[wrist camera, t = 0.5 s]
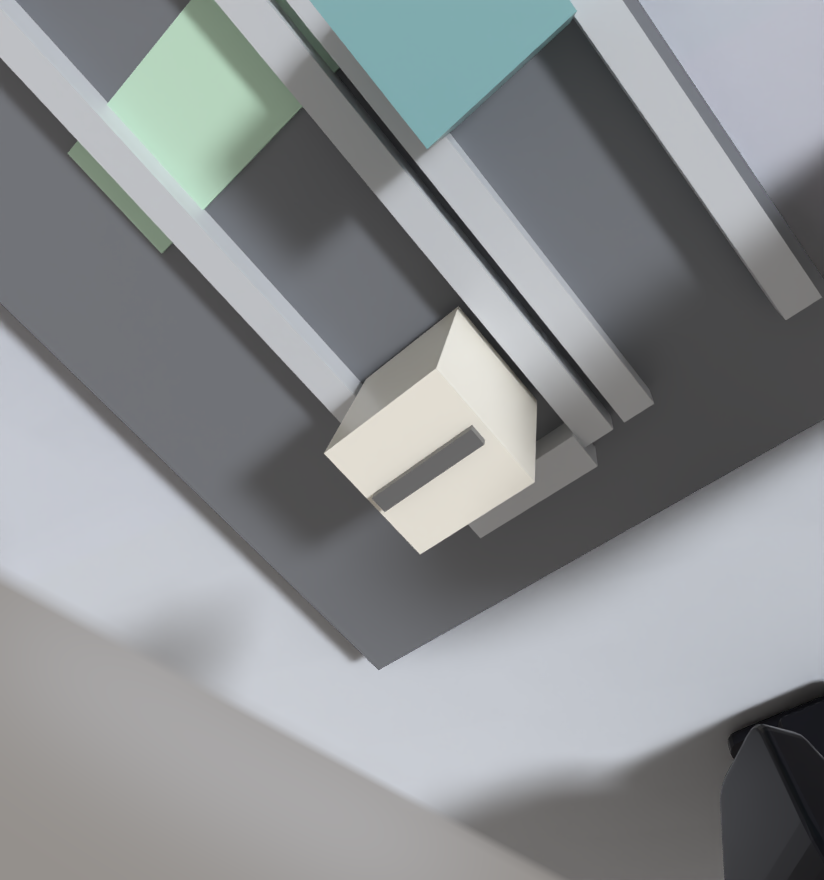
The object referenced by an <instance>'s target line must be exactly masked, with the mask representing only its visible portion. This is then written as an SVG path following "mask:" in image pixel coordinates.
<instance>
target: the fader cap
mask: <svg viewBox="0 0 824 880" xmlns="http://www.w3.org/2000/svg"><path fill="white" fill-rule="evenodd" d="M536 420H537V400H536V398H535V397H534V396H533V395H532V394H531V392H530V391H529V390H528V389H527V388H526V386H525V385H524V384H523V383H522V382H521V380H520V379H519V378H518V377H517V376H516V374H515V373H514V372H513V371H512V370H511V368H510V367H509V366H508V365H507V364H506V362H505V361H504V360H503V359H502V358H501V356H500V355H499V354H498V353H497V352H496V350H495V349H494V348H493V347H492V346H491V344H490V343H489V342H488V341H487V340H486V338H485V337H484V336H483V335H482V334H481V332H480V331H479V330H478V329H477V328H476V326H475V325H474V324H473V323H472V322H471V320H470V319H469V318H468V317H467V316H466V314H465V313H464V312H463V311H462V310H461V308H460V307H459V306H458V307H457V308H456V309H454V310H453V311H452V312H450V313H449V314H448V315H447V316H445V317H444V318H443V319H442V320H440V321H439V322H438V323H437V324H435V325H434V326H433V327H431V328H430V329H429V330H428V331H426V332H425V333H424V334H423V335H421V336H420V337H419V338H418V339H416V340H415V341H414V342H412V343H411V344H410V345H409V346H407V347H406V348H405V349H404V350H402V351H401V352H400V353H399V354H397V355H396V356H395V357H393V358H392V359H391V360H390V361H388V362H387V363H386V364H385V365H383V366H382V367H381V368H380V369H378V370H377V371H376V372H374V373H373V374H372V375H371V376H369V377H368V378H367V379H366V380H365V382H364V384H363V385H362V387H361V389H360V391H359V392H358V394H357V396H356V398H355V399H354V401H353V403H352V405H351V407H350V408H349V410H348V412H347V414H346V415H345V417H344V419H343V421H342V422H341V424H340V426H339V428H338V429H337V431H336V433H335V435H334V436H333V438H332V440H331V442H330V443H329V445H328V447H327V449H326V450H325V452H324V454H325V455H326V456H327V457H328V458H329V459H330V460H331V461H332V462H333V464H334V465H335V466H336V467H337V468H338V469H339V470H340V471H341V472H342V473H343V474H344V475H345V476H346V477H347V478H348V479H349V480H350V481H351V482H352V483H353V485H354V486H355V487H356V488H357V489H358V490H359V491H360V492H361V493H362V494H363V495H364V496H365V497H366V498H367V499H368V500H369V501H370V502H371V503H372V504H373V506H374V507H375V508H376V509H377V510H378V511H379V512H380V513H381V514H382V515H383V516H384V517H385V518H386V519H387V520H388V521H389V522H390V523H391V524H392V525H393V527H394V528H395V529H396V530H397V531H398V532H399V533H400V534H401V535H402V536H403V537H404V538H405V539H406V540H407V541H408V542H409V543H410V544H411V545H412V546H413V548H414V549H415V550H416V551H417V552H418V553H419V554H422V553H423V552H425V551H426V550H428V549H430V548H431V547H433V546H434V545H436V544H438V543H439V542H441V541H442V540H444V539H445V538H447V537H449V536H450V535H452V534H453V533H455V532H457V531H458V530H460V529H461V528H463V527H464V526H466V525H468V524H469V523H471V522H472V521H474V520H476V519H477V518H479V517H480V516H482V515H484V514H485V513H487V512H488V511H490V510H491V509H493V508H495V507H496V506H498V505H499V504H501V503H503V502H504V501H506V500H507V499H509V498H510V497H512V496H514V495H515V494H517V493H518V492H520V491H522V490H523V489H525V488H526V487H528V486H529V485H531V484H533V483H534V482H535V456H536Z"/></svg>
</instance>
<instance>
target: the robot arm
mask: <svg viewBox="0 0 824 880" xmlns="http://www.w3.org/2000/svg"><path fill="white" fill-rule="evenodd" d="M728 745H729V749H730V752H731V755H732V757H733V758H734V761H733V763H732V765H731V767H730V769H729V771H728V773H727V775H726V777H725V779H724V782H723V785H722V790H721V799H720V807H721V825H722V844H723V862H724V880H824V696H823V697H820V698H818V699H815V700H813V701H810V702H808V703H805V704H803V705H801V706H798V707H796V708H793V709H791V710H788V711H786V712H783V713H781V714H778V715H776V716H774V717H771V718H769V719H766V720H764V721H761V722H759V723H756V724H754V725H751V726H749V727H747V728H744V729H742V730H739V731H737V732H735V733H733V734H732V735H731V736H730V737H729V739H728Z"/></svg>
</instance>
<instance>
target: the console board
mask: <svg viewBox="0 0 824 880" xmlns="http://www.w3.org/2000/svg"><path fill="white" fill-rule="evenodd" d="M0 303H1V304H2V305H3V306H4V307H5V308H6V309H7V310H8V311H9V312H10V313H11V314H12V315H13V316H14V317H15V318H16V319H17V320H18V321H19V322H20V323H21V324H22V325H23V326H24V327H25V328H26V329H28V330H29V331H30V332H31V333H32V334H33V335H34V336H35V337H36V338H37V339H38V340H39V341H40V342H41V343H42V344H43V345H44V346H45V347H46V348H47V349H48V350H49V351H50V352H51V353H52V354H53V355H54V356H55V357H56V358H57V359H58V360H59V361H60V362H62V363H63V364H64V365H65V366H66V367H67V368H68V369H69V370H70V371H71V372H72V373H73V374H74V375H75V376H76V377H77V378H78V379H79V380H80V381H81V382H82V383H83V384H84V385H85V386H86V387H87V388H88V389H89V390H90V391H91V392H92V393H93V394H95V395H96V396H97V397H98V398H99V399H100V400H101V401H102V402H103V403H104V404H105V405H106V406H107V407H108V408H109V409H110V410H111V411H112V412H113V413H114V414H115V415H116V416H117V417H118V418H119V419H120V420H121V421H122V422H123V423H124V424H125V425H126V426H127V427H129V428H130V429H131V430H132V431H133V432H134V433H135V434H136V435H137V436H138V437H139V438H140V439H141V440H142V441H143V442H144V443H145V444H146V445H147V446H148V447H149V448H150V449H151V450H152V451H153V452H154V453H155V454H156V455H157V456H158V457H159V458H160V459H162V460H163V461H164V462H165V463H166V464H167V465H168V466H169V467H170V468H171V469H172V470H173V471H174V472H175V473H176V474H177V475H178V476H179V477H180V478H181V479H182V480H183V481H184V482H185V483H186V484H187V485H188V486H189V487H190V488H191V489H192V490H193V491H194V492H196V493H197V494H198V495H199V496H200V497H201V498H202V499H203V500H204V501H205V502H206V503H207V504H208V505H209V506H210V507H211V508H212V509H213V510H214V511H215V512H216V513H217V514H218V515H219V516H220V517H221V518H222V519H223V520H224V521H225V522H226V523H227V524H229V525H230V526H231V527H232V528H233V529H234V530H235V531H236V532H237V533H238V534H239V535H240V536H241V537H242V538H243V539H244V540H245V541H246V542H247V543H248V544H249V545H250V546H251V547H252V548H253V549H254V550H255V551H256V552H257V553H258V554H259V555H260V556H261V557H263V558H264V559H265V560H266V561H267V562H268V563H269V564H270V565H271V566H272V567H273V568H274V569H275V570H276V571H277V572H278V573H279V574H280V575H281V576H282V577H283V578H284V579H285V580H286V581H287V582H288V583H289V584H290V585H291V586H292V587H293V588H294V589H296V590H297V591H298V592H299V593H300V594H301V595H302V596H303V597H304V598H305V599H306V600H307V601H308V602H309V603H310V604H311V605H312V606H313V607H314V608H315V609H316V610H317V611H318V612H319V613H320V614H321V615H322V616H323V617H324V618H325V619H326V620H327V621H328V622H330V623H331V624H332V625H333V626H334V627H335V628H336V629H337V630H338V631H339V632H340V633H341V634H342V635H343V636H344V637H345V638H346V639H347V640H348V641H349V642H350V643H351V644H352V645H353V646H354V647H355V648H356V649H357V650H358V651H359V652H360V653H361V654H363V655H364V656H365V657H366V658H367V659H368V660H369V661H370V662H371V663H372V664H373V665H374V666H375V667H376V668H377V669H378V670H380V669H382V668H383V667H385V666H387V665H389V664H390V663H392V662H394V661H396V660H398V659H399V658H401V657H403V656H405V655H406V654H408V653H410V652H412V651H413V650H415V649H417V648H419V647H421V646H422V645H424V644H426V643H428V642H429V641H431V640H433V639H435V638H437V637H438V636H440V635H442V634H444V633H445V632H447V631H449V630H451V629H453V628H454V627H456V626H458V625H460V624H461V623H463V622H465V621H467V620H469V619H470V618H472V617H474V616H476V615H477V614H479V613H481V612H483V611H484V610H486V609H488V608H490V607H492V606H493V605H495V604H497V603H499V602H500V601H502V600H504V599H506V598H508V597H509V596H511V595H513V594H515V593H516V592H518V591H520V590H522V589H524V588H525V587H527V586H529V585H531V584H532V583H534V582H536V581H538V580H539V579H541V578H543V577H545V576H547V575H548V574H550V573H552V572H554V571H555V570H557V569H559V568H561V567H563V566H564V565H566V564H568V563H570V562H571V561H573V560H575V559H577V558H579V557H580V556H582V555H584V554H586V553H587V552H589V551H591V550H593V549H595V548H596V547H598V546H600V545H602V544H603V543H605V542H607V541H609V540H610V539H612V538H614V537H616V536H618V535H619V534H621V533H623V532H625V531H626V530H628V529H630V528H632V527H634V526H635V525H637V524H639V523H641V522H642V521H644V520H646V519H648V518H650V517H651V516H653V515H655V514H657V513H658V512H660V511H662V510H664V509H666V508H667V507H669V506H671V505H673V504H674V503H676V502H678V501H680V500H681V499H683V498H685V497H687V496H689V495H690V494H692V493H694V492H696V491H697V490H699V489H701V488H703V487H705V486H706V485H708V484H710V483H712V482H713V481H715V480H717V479H719V478H721V477H722V476H724V475H726V474H728V473H729V472H731V471H733V470H735V469H736V468H738V467H740V466H742V465H744V464H745V463H747V462H749V461H751V460H752V459H754V458H756V457H758V456H760V455H761V454H763V453H765V452H767V451H768V450H770V449H772V448H774V447H776V446H777V445H779V444H781V443H783V442H784V441H786V440H788V439H790V438H792V437H793V436H795V435H797V434H799V433H800V432H802V431H804V430H806V429H807V428H809V427H811V426H813V425H815V424H816V423H818V422H820V421H822V420H823V419H824V279H823V277H822V276H821V274H820V273H819V271H818V270H817V268H816V267H815V265H814V264H813V262H812V261H811V259H810V258H809V256H808V255H807V253H806V252H805V250H804V249H803V247H802V246H801V244H800V242H799V241H798V239H797V238H796V236H795V235H794V233H793V232H792V230H791V229H790V227H789V226H788V224H787V223H786V221H785V220H784V218H783V217H782V215H781V214H780V212H779V211H778V209H777V208H776V206H775V205H774V203H773V202H772V200H771V199H770V197H769V196H768V194H767V193H766V191H765V190H764V188H763V187H762V185H761V184H760V182H759V181H758V179H757V178H756V176H755V175H754V173H753V172H752V170H751V169H750V167H749V166H748V164H747V163H746V161H745V160H744V158H743V157H742V155H741V154H740V152H739V151H738V149H737V148H736V146H735V145H734V143H733V142H732V140H731V139H730V137H729V136H728V134H727V133H726V131H725V130H724V128H723V127H722V125H721V124H720V122H719V121H718V119H717V118H716V116H715V115H714V113H713V112H712V110H711V109H710V107H709V106H708V104H707V103H706V101H705V100H704V98H703V97H702V95H701V94H700V92H699V91H698V89H697V88H696V86H695V85H694V83H693V82H692V80H691V79H690V77H689V76H688V74H687V73H686V71H685V70H684V68H683V67H682V65H681V64H680V62H679V61H678V59H677V58H676V56H675V55H674V53H673V52H672V50H671V49H670V47H669V46H668V44H667V43H666V41H665V40H664V38H663V37H662V35H661V34H660V32H659V31H658V29H657V28H656V26H655V25H654V23H653V22H652V20H651V19H650V17H649V16H648V14H647V13H646V11H645V10H644V8H643V7H642V5H641V4H640V2H639V1H638V0H0ZM458 306H459V307H460V308H461V310H462V311H463V312H464V313H465V314H466V316H467V317H468V318H469V319H470V320H471V322H472V323H473V324H474V325H475V326H476V328H477V329H478V330H479V331H480V332H481V334H482V335H483V336H484V337H485V338H486V340H487V341H488V342H489V343H490V344H491V346H492V347H493V348H494V349H495V350H496V352H497V353H498V354H499V355H500V356H501V358H502V359H503V360H504V361H505V362H506V364H507V365H508V366H509V367H510V368H511V370H512V371H513V372H514V373H515V374H516V376H517V377H518V378H519V379H520V380H521V382H522V383H523V384H524V385H525V386H526V388H527V389H528V390H529V391H530V392H531V394H532V395H533V396H534V397H535V398H536V400H537V420H536V456H535V482H534V483H533V484H531V485H529V486H528V487H526V488H525V489H523V490H522V491H520V492H518V493H517V494H515V495H514V496H512V497H510V498H509V499H507V500H506V501H504V502H503V503H501V504H499V505H498V506H496V507H495V508H493V509H491V510H490V511H488V512H487V513H485V514H484V515H482V516H480V517H479V518H477V519H476V520H474V521H472V522H471V523H469V524H468V525H466V526H464V527H463V528H461V529H460V530H458V531H457V532H455V533H453V534H452V535H450V536H449V537H447V538H445V539H444V540H442V541H441V542H439V543H438V544H436V545H434V546H433V547H431V548H430V549H428V550H426V551H425V552H423V553H422V554H419V553H418V552H417V551H416V550H415V549H414V548H413V546H412V545H411V544H410V543H409V542H408V541H407V540H406V539H405V538H404V537H403V536H402V535H401V534H400V533H399V532H398V531H397V530H396V529H395V528H394V527H393V525H392V524H391V523H390V522H389V521H388V520H387V519H386V518H385V517H384V516H383V515H382V514H381V513H380V512H379V511H378V510H377V509H376V508H375V507H374V506H373V504H372V503H371V502H370V501H369V500H368V499H367V498H366V497H365V496H364V495H363V494H362V493H361V492H360V491H359V490H358V489H357V488H356V487H355V486H354V485H353V483H352V482H351V481H350V480H349V479H348V478H347V477H346V476H345V475H344V474H343V473H342V472H341V471H340V470H339V469H338V468H337V467H336V466H335V465H334V464H333V462H332V461H331V460H330V459H329V458H328V457H327V456H326V455H325V454H324V452H325V450H326V449H327V447H328V445H329V443H330V442H331V440H332V438H333V436H334V435H335V433H336V431H337V429H338V428H339V426H340V424H341V422H342V421H343V419H344V417H345V415H346V414H347V412H348V410H349V408H350V407H351V405H352V403H353V401H354V399H355V398H356V396H357V394H358V392H359V391H360V389H361V387H362V385H363V384H364V382H365V380H366V379H367V378H368V377H369V376H371V375H372V374H373V373H374V372H376V371H377V370H378V369H380V368H381V367H382V366H383V365H385V364H386V363H387V362H388V361H390V360H391V359H392V358H393V357H395V356H396V355H397V354H399V353H400V352H401V351H402V350H404V349H405V348H406V347H407V346H409V345H410V344H411V343H412V342H414V341H415V340H416V339H418V338H419V337H420V336H421V335H423V334H424V333H425V332H426V331H428V330H429V329H430V328H431V327H433V326H434V325H435V324H437V323H438V322H439V321H440V320H442V319H443V318H444V317H445V316H447V315H448V314H449V313H450V312H452V311H453V310H454V309H456V308H457V307H458Z"/></svg>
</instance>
